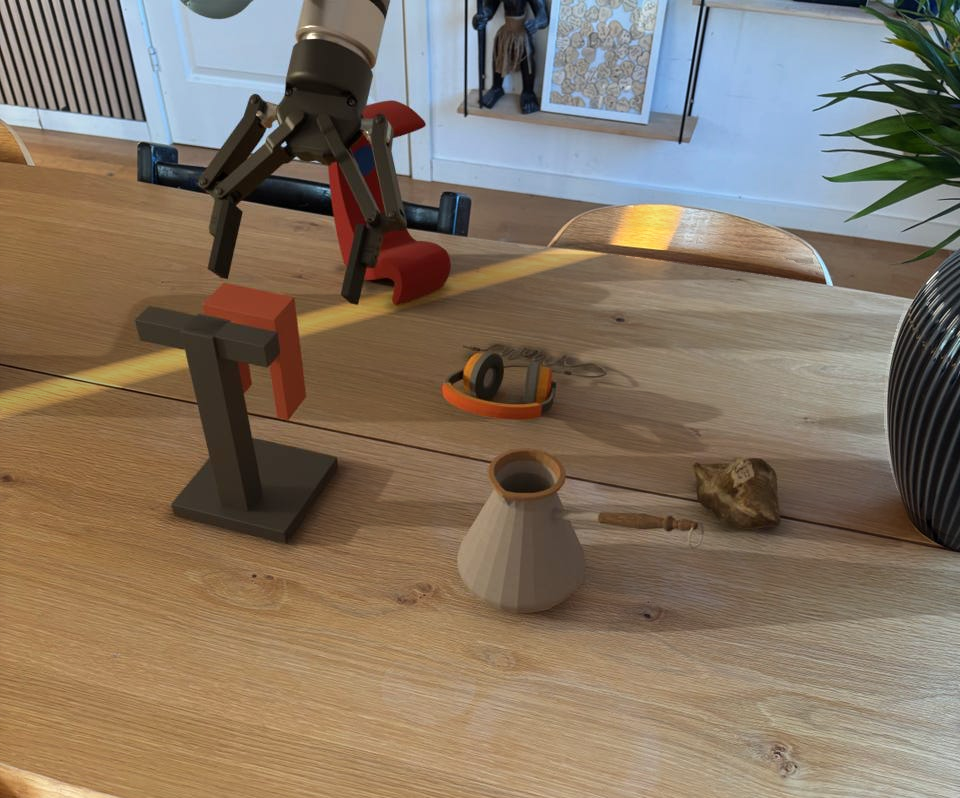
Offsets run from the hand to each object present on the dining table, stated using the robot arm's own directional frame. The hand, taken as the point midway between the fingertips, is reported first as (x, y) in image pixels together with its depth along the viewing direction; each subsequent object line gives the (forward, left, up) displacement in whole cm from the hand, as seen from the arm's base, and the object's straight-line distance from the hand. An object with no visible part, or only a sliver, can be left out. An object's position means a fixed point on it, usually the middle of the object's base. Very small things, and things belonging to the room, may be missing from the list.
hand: (282, 287), depth 95 cm
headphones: (+19, +14, -17) cm, 29 cm away
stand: (0, -10, -16) cm, 19 cm away
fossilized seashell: (+45, +3, -17) cm, 48 cm away
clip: (0, -6, -8) cm, 11 cm away
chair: (-3, +33, -17) cm, 37 cm away
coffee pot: (+33, -15, -17) cm, 40 cm away
